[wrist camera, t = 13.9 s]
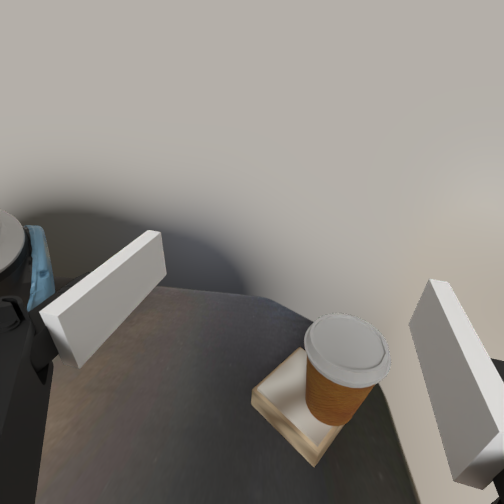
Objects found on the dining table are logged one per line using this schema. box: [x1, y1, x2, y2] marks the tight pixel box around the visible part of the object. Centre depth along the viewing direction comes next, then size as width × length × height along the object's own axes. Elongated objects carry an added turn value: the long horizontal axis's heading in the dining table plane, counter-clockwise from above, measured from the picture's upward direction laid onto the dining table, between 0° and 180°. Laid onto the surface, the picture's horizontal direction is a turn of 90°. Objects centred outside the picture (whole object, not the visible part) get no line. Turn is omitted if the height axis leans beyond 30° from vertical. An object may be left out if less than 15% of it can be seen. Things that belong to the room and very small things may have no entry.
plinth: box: [251, 347, 345, 467], centre depth 40 cm, size 11×11×4 cm
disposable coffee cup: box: [304, 313, 391, 426], centre depth 35 cm, size 10×10×12 cm
